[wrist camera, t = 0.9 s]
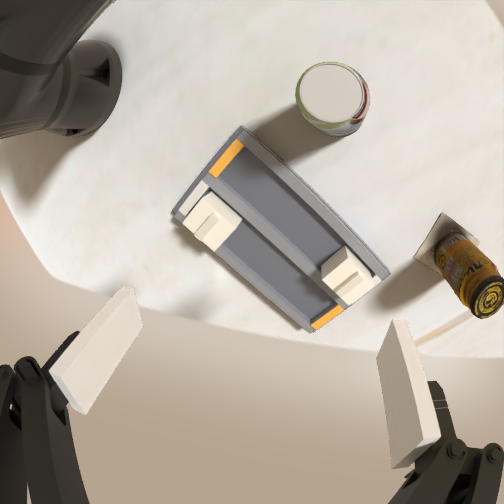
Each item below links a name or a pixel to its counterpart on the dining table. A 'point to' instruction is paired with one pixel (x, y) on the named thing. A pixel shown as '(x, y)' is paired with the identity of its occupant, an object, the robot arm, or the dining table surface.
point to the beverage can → (333, 98)
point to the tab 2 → (346, 275)
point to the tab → (212, 220)
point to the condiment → (463, 267)
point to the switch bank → (278, 230)
